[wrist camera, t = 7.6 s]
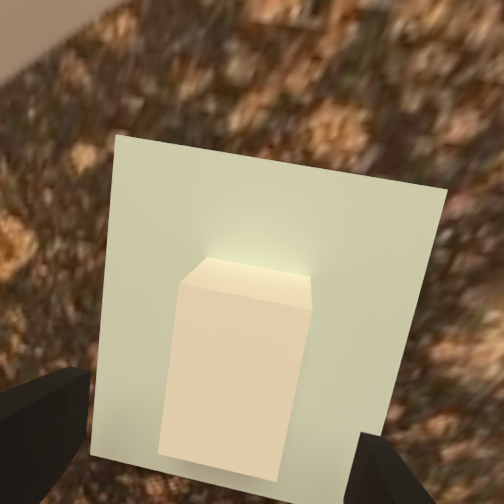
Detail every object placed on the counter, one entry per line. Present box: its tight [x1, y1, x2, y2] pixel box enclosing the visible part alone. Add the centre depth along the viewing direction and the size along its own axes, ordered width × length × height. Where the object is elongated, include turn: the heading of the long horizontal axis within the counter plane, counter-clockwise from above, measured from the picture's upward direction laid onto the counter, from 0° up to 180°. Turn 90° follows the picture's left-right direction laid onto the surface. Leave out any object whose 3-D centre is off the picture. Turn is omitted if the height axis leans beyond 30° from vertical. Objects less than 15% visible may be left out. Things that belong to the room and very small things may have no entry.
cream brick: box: [158, 257, 313, 482], centre depth 14 cm, size 6×4×4 cm, turn 171°
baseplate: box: [90, 135, 448, 504], centre depth 16 cm, size 14×12×1 cm
